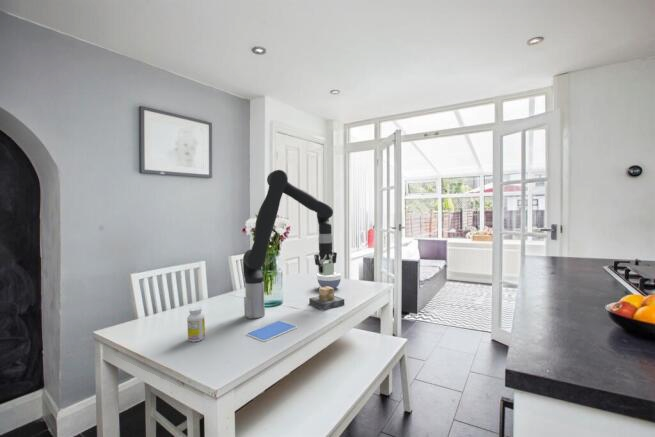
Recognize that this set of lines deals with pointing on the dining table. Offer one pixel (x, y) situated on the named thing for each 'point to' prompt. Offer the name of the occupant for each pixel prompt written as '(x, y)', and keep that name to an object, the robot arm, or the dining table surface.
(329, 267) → the sage block
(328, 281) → the bowl
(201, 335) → the supplement bottle
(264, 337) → the tablet computer
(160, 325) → the dining table surface
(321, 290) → the oak block
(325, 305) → the slate base
